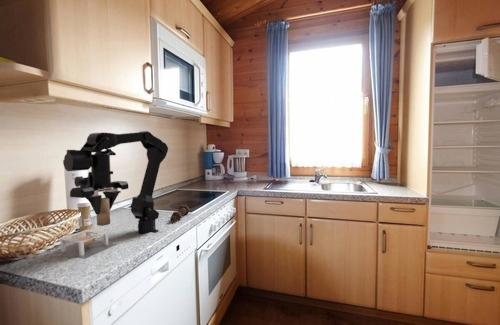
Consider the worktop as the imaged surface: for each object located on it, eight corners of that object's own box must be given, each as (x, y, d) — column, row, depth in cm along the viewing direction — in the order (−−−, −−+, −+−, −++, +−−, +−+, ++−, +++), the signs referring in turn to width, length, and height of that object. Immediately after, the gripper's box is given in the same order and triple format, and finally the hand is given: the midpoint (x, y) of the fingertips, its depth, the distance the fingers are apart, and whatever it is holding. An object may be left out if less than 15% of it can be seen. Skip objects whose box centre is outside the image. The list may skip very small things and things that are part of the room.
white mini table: (86, 241, 96) (85, 227, 96) (117, 246, 91) (116, 232, 90) (52, 254, 85) (51, 238, 85) (85, 261, 79) (84, 244, 79)
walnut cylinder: (104, 221, 90) (103, 197, 90) (112, 222, 89) (111, 198, 89) (94, 225, 87) (93, 199, 86) (103, 226, 85) (102, 200, 85)
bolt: (171, 227, 118) (183, 216, 133) (180, 222, 117) (191, 212, 132) (165, 216, 118) (178, 207, 132) (174, 211, 117) (185, 202, 132)
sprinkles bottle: (91, 233, 105) (88, 202, 104) (78, 235, 103) (75, 203, 102) (92, 230, 109) (91, 199, 108) (80, 231, 107) (78, 201, 106)
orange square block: (86, 239, 90) (86, 235, 90) (94, 241, 89) (94, 236, 89) (75, 243, 86) (75, 239, 86) (83, 245, 85) (83, 241, 85)
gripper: (106, 166, 98) (108, 205, 99) (56, 170, 80) (59, 218, 81) (128, 166, 95) (130, 207, 96) (81, 171, 77) (84, 221, 78)
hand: (103, 212), depth 88 cm, fingers closed on walnut cylinder, 4 cm apart
